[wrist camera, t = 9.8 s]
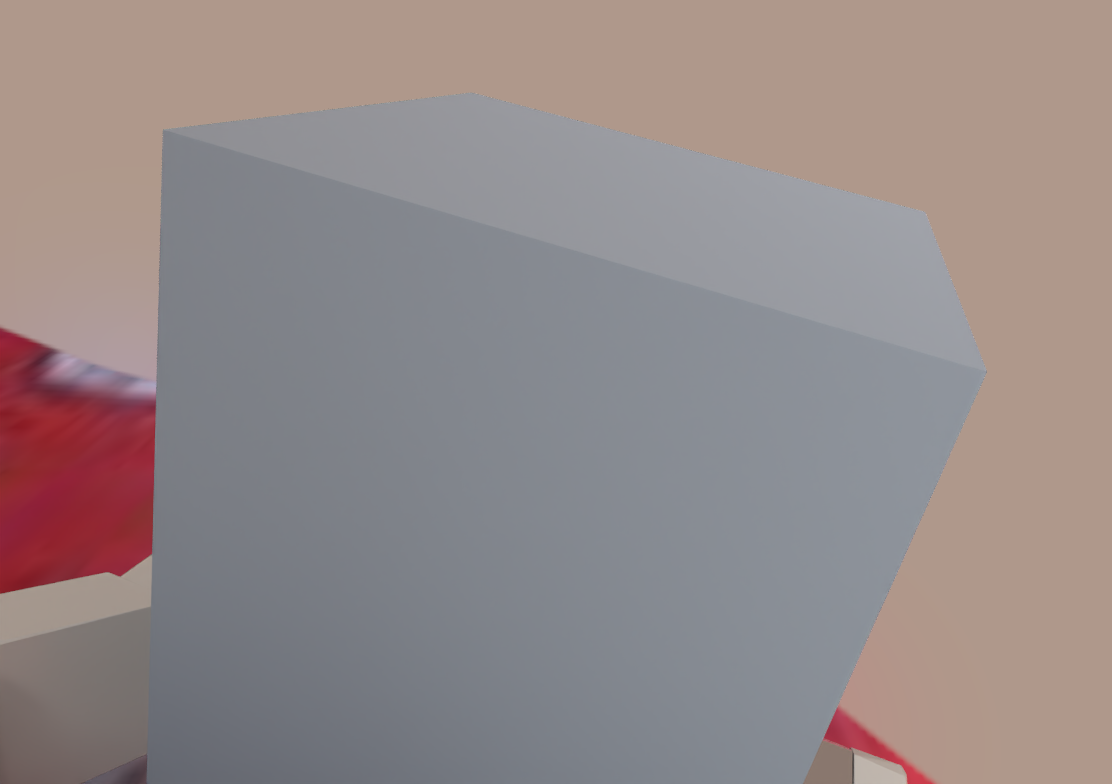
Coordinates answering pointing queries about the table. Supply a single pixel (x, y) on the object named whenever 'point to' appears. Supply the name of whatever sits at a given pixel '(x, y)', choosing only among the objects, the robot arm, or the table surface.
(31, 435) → the table surface
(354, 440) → the grey block
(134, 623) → the robot arm
